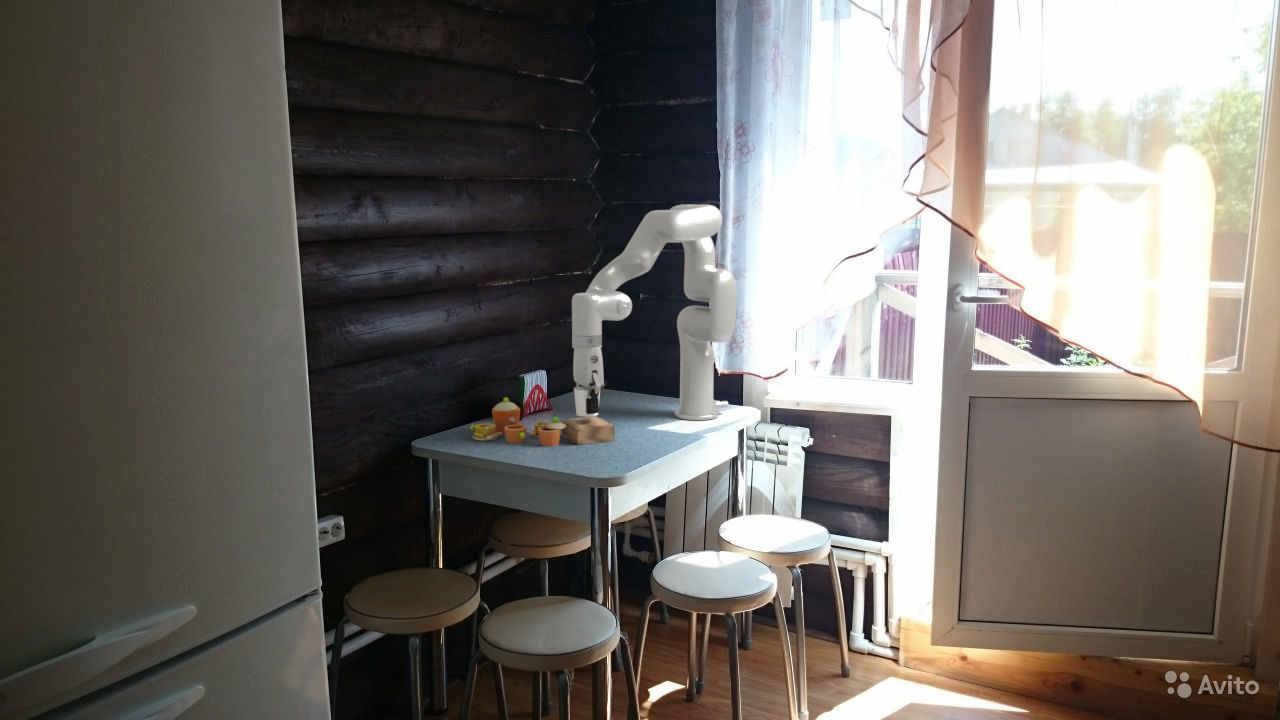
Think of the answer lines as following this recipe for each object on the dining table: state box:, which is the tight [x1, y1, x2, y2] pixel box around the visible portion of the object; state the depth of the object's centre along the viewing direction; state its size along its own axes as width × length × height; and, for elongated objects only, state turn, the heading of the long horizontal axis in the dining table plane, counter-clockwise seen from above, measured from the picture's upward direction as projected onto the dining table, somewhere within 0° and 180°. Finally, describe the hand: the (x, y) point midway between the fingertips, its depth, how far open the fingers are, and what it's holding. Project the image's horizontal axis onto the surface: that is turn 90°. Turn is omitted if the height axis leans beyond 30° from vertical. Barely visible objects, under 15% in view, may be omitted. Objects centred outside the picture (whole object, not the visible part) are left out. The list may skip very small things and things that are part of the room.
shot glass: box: [573, 386, 601, 418], centre depth 236 cm, size 7×7×7 cm
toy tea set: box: [469, 397, 566, 447], centre depth 237 cm, size 26×16×10 cm, turn 69°
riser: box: [560, 415, 616, 446], centre depth 237 cm, size 10×12×4 cm
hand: (587, 410), depth 236 cm, fingers closed on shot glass, 6 cm apart
